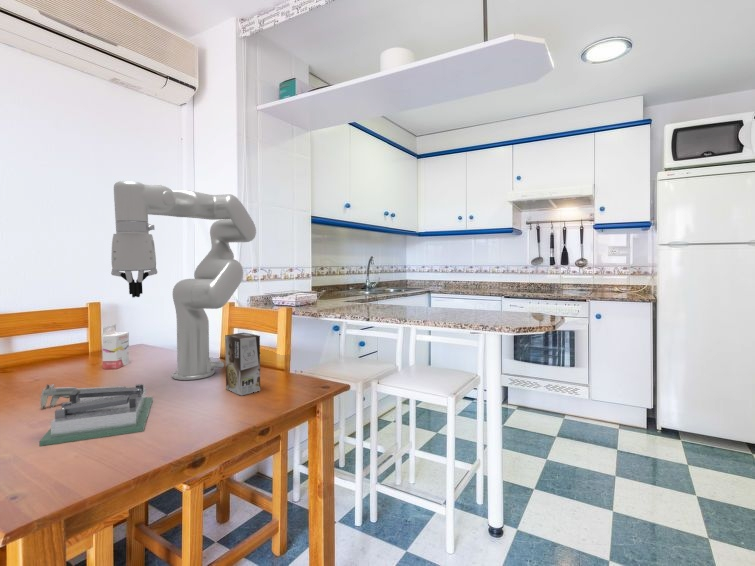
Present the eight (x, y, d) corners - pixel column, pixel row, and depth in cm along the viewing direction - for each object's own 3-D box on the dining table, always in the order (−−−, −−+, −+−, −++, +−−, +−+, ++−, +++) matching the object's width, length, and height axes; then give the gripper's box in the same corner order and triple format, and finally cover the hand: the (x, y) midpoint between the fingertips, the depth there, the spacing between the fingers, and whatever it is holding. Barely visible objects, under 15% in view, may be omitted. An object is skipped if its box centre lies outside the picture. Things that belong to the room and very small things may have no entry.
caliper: (42, 410, 101) (41, 385, 101) (40, 409, 101) (40, 385, 101) (130, 390, 117) (130, 369, 117) (129, 389, 118) (128, 368, 118)
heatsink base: (152, 400, 108) (152, 378, 108) (143, 431, 88) (142, 403, 88) (70, 410, 101) (69, 386, 100) (39, 446, 81) (38, 416, 80)
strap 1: (58, 415, 86) (57, 410, 86) (62, 410, 88) (62, 405, 88) (127, 404, 91) (127, 399, 91) (129, 400, 94) (129, 395, 94)
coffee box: (261, 391, 116) (260, 335, 116) (240, 396, 112) (239, 338, 111) (245, 384, 123) (244, 331, 122) (224, 389, 118) (224, 334, 117)
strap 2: (141, 391, 102) (142, 386, 102) (140, 394, 100) (140, 389, 100) (81, 394, 97) (81, 389, 97) (78, 398, 94) (78, 393, 94)
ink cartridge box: (117, 369, 140) (116, 327, 139) (102, 369, 140) (101, 327, 139) (130, 363, 149) (129, 323, 148) (115, 363, 148) (114, 323, 147)
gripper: (164, 230, 115) (167, 294, 117) (101, 229, 109) (105, 296, 110) (163, 228, 108) (166, 296, 110) (96, 227, 102) (100, 299, 103)
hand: (136, 296), depth 110 cm, fingers closed
